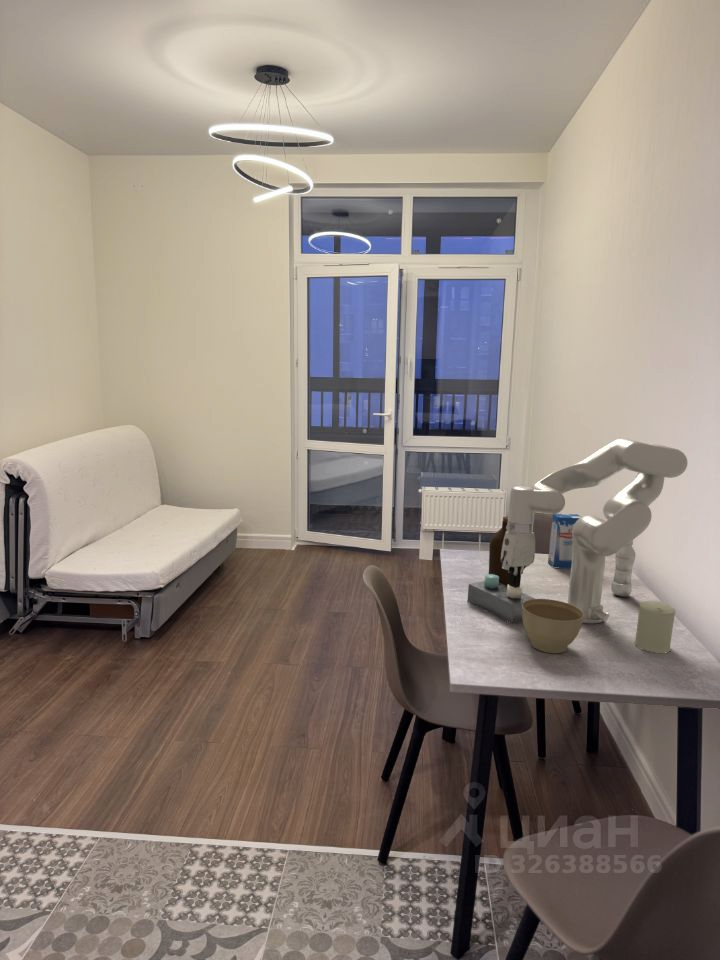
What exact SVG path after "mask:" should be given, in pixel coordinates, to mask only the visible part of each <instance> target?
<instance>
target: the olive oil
mask: <svg viewBox="0 0 720 960" xmlns="http://www.w3.org/2000/svg"><path fill="white" fill-rule="evenodd" d="M507 523H508V516H502V524H501V528H500V529H499V530H498V531H496V532H495V533H494V534H493V535H492V536H491V538H490V541H489V547H488V548H489V549H488V550H489V551H488V552H489V553H488V557H489V559H488V574H493V575H497V576H499V583H501V584H503V585H505V586H507V585H508V584H509V574H510V573H508V570H505V569H503V568H502V565H503V563H502V562H501V552H502V545H503V540H504V536H505V533H506V532H507V529H506V526H507Z"/></svg>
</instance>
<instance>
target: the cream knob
mask: <svg viewBox="0 0 720 960" xmlns="http://www.w3.org/2000/svg"><path fill="white" fill-rule="evenodd" d="M522 593H523V586H522V585H521V584H520V587H517V588H514V587H512V586H510V585H509V584H508V585H507V596H508V597H511V598H512V599H517V598H521V596H522Z"/></svg>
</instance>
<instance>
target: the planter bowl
mask: <svg viewBox="0 0 720 960" xmlns="http://www.w3.org/2000/svg"><path fill="white" fill-rule="evenodd" d="M522 611H523V612H522V618H523V622H522V624H523V627H524V628H523V629H524V630H525V633H526V635H527V637H528V638H529V640H530V645H531V646H532V647H533V648H535V649H536V650H537V651H541V652H543V653H548V654H561V653H565V652H566V651H567V649H568V646H570V645H571V644H572V643H573V642H574V641H575V639H576V638H577V636H578V635H579V633H580V631H581V628H582V624H583V623H582V620H583V618H584V613H583V612H582V610H580V609H579V608H577V607H576V606H573V605H571V604H568V602H564V601H560V600H556V599H549V598H535V599H531V600H527V601H525V602H524V603H523V604H522Z"/></svg>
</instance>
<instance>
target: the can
mask: <svg viewBox="0 0 720 960" xmlns="http://www.w3.org/2000/svg"><path fill="white" fill-rule="evenodd" d="M676 611H677V610H676V609H675V608H674V607H672V606H671V605H669V604H667V603H666V604H665V603H662V602H658V601H652V600H651V601H642V602H640V603H639V608H638V618H637V624H636V625H637V626H636V633H635V639H634V645H635V646H636V645H637V646H638V647H639V648H638V647H637V646H636V647H637V648H638V649H640V648H642V649H644V650H643V651H645V650H647V651H646V652H648V651H651V652H650V653H652V652H657V653H656V654H659V653H663V654H666V653H665V652H668V653H669V651H670V652H671V645H672V644H671V643H672V635H673V628H674V622H675V615H676ZM642 649H641V650H642Z"/></svg>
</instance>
